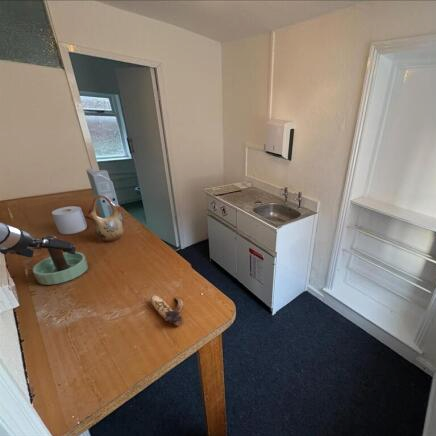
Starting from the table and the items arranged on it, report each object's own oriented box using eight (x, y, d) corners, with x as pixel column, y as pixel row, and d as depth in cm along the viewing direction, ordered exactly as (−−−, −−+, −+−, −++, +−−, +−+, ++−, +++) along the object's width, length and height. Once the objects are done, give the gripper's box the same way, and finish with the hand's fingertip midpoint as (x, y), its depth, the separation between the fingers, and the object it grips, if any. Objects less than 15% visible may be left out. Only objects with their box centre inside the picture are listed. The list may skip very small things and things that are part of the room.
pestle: (52, 276, 94) (35, 239, 87) (60, 269, 99) (44, 233, 92) (68, 275, 96) (52, 238, 88) (74, 267, 100) (60, 232, 93)
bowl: (27, 288, 89) (21, 276, 86) (53, 264, 102) (48, 253, 100) (76, 283, 93) (72, 272, 91) (95, 260, 106) (91, 250, 104)
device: (122, 222, 142) (110, 173, 129) (107, 225, 136) (92, 175, 124) (114, 213, 151) (102, 167, 139) (100, 216, 146) (85, 169, 133)
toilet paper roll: (88, 223, 137) (82, 204, 132) (86, 231, 128) (79, 212, 124) (61, 227, 131) (53, 208, 126) (56, 236, 122) (48, 216, 117)
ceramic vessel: (95, 248, 115) (80, 201, 104) (90, 241, 120) (75, 196, 109) (133, 237, 126) (122, 194, 116) (127, 231, 132) (116, 189, 121)
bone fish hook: (196, 317, 83) (170, 292, 92) (195, 307, 81) (169, 283, 90) (170, 333, 76) (145, 305, 85) (169, 323, 74) (143, 295, 83)
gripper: (-52, 253, 68) (10, 265, 88) (53, 246, 75) (89, 258, 94) (-43, 229, 71) (15, 245, 90) (57, 225, 77) (92, 240, 97)
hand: (53, 252), depth 92 cm, fingers open, 13 cm apart
